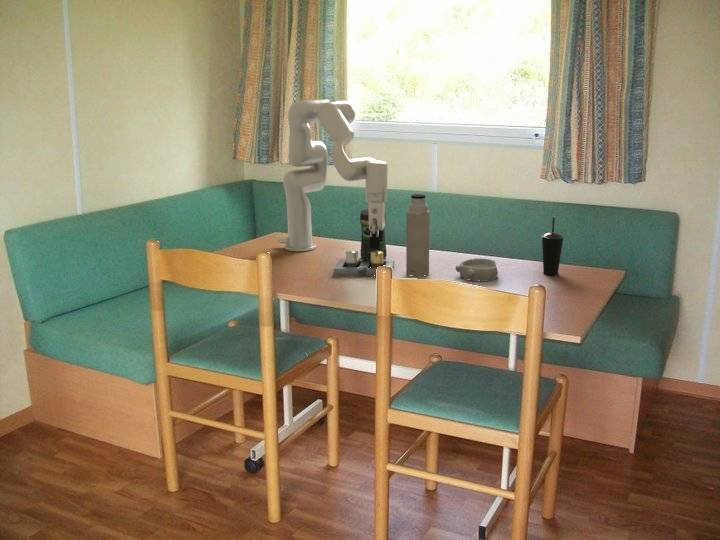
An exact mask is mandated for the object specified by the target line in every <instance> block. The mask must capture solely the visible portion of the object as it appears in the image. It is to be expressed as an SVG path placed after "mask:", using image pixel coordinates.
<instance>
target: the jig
mask: <svg viewBox="0 0 720 540" xmlns="http://www.w3.org/2000/svg"><path fill="white" fill-rule="evenodd" d="M383 265H385V266H390V267H392V268H393V270H394V269H395V259H383ZM358 267H359V268H356V267H346V258H339V259H338V262H337V263H336V264H335V267H333V277H365V276H374V275H375V276H376V269H377V268H370V267H371V259H365V258H358Z"/></svg>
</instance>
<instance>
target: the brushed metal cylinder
mask: <svg viewBox="0 0 720 540" xmlns="http://www.w3.org/2000/svg"><path fill="white" fill-rule="evenodd" d="M345 259H346V267H356V268H358V259H359V251H358V250H353V249H352V250H347V251H345Z"/></svg>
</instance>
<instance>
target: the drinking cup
mask: <svg viewBox="0 0 720 540" xmlns="http://www.w3.org/2000/svg"><path fill="white" fill-rule="evenodd" d="M555 219H556V218H555V217H552V224H551V225H552V226H551V231H548V232H545V233H543V234H541V235H540V236H541V237H540V238H541V245H542V247H541V248H542V266H543V267H542V268H543V270H542V271H543V275H545V276H548V277H555V276H558V275H559V270H560V269H559V268H560V263H561V255H562V250H563V249H562V248H563V243H564V238H565V236H564V235H563V234H562V233H559V232H556V231H555Z"/></svg>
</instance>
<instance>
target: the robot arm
mask: <svg viewBox="0 0 720 540" xmlns="http://www.w3.org/2000/svg"><path fill="white" fill-rule="evenodd" d="M354 108H355V107H354V106H353V105H352V103H350V102H349V101H347V100H339V99H329V98H328V99H327V98H326V99H308V100H299V101H295V102H294V103H292V104H291V105H290V106H289V109H288V112H287V119H288V128H289V138H288V161H289V164H290V165H291V166H293V167H297V169H292V170H289V171H287V172H286V173H285V174H284V176H283V179H282V180H283V181H282V183H283V188H284V192H285V199H286V214H287V236H286V237H278V238H277V242H278V243H279V244H285V245H284V250H286V251H289V252H309V251H313V250H315V249H316V248H317V244H316V243H315V242H313V229H312V228H313V227H312V204H311V202H310V201H311V200H310V199H309V197H308V196H307V195H306V194H308V193H314V192H319V191H322V190H323V189H324V188H325V187H326V182H327V175H328V174H327V173H328V172H327V171H328V161H329V158H328V157H329V152H328V149H327V146H326V144H325V143H324V142H322V141H321V140H312V138H313V137H312V135H313V134H312V133H313V132H312V129H311V126H310V125H309V124H318V123H320V124H321V126H322V127H323V129H324V132H326V134H327V136H328V137H329V139H330V141H331V142H332V147H331V162H332V164H333V166H334V168H335V169H336V171H337V173H338V174H339V176H340V177H341V178H342V179H343V180H344V181H347V182H353V181H361V180H365V202H366V203H368V209H369V229H370V230H371V232H370V248H379V241H382V230H383V229H384V226H385V225H386V223H385V214H386V206H385V203H386V202H387V201H388V163H387V162H386V161H384V160H377V159H375V158H372V157H370V156H369V157H368V156H367V157H359V158H357V157H356V158H350V159H349V157H348V155H347V154H346V152H345V151H344V147H346V146H347V145H348V144H350V143H351V142H352V140H353V139H354V138H355V131H354V130H353V128H352V127H351V125H350V124H352V123H353V122H354V120H355V118H356V111H355V109H354ZM298 167H299V168H298ZM300 167H305V168H300Z"/></svg>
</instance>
